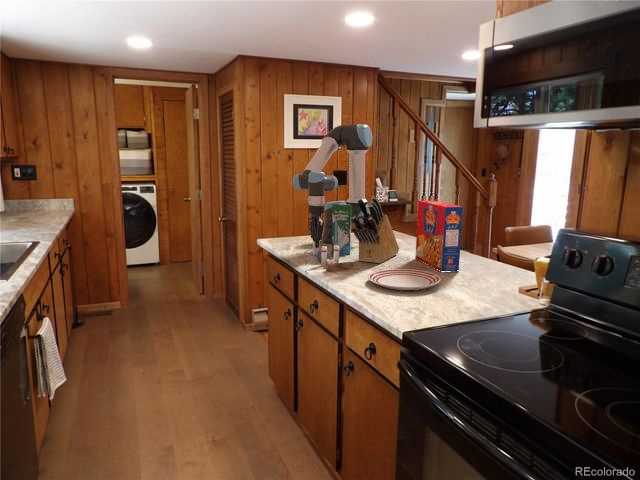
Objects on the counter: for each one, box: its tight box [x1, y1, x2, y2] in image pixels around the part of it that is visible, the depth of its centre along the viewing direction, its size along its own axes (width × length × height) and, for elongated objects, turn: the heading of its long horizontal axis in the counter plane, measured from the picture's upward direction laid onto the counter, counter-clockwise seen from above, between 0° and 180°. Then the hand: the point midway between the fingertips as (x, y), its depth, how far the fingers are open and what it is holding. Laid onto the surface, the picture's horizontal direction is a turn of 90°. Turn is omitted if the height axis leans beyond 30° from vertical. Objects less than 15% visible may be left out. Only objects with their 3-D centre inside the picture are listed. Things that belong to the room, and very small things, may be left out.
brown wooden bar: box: [325, 261, 355, 273], centre depth 201 cm, size 12×2×3 cm, turn 114°
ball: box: [316, 248, 331, 262], centre depth 216 cm, size 6×6×6 cm
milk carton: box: [331, 203, 352, 256], centre depth 236 cm, size 9×9×25 cm
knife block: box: [351, 195, 400, 264], centre depth 220 cm, size 11×35×31 cm, turn 151°
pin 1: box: [320, 245, 328, 267], centre depth 208 cm, size 2×2×8 cm
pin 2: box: [333, 246, 340, 263], centre depth 211 cm, size 2×2×8 cm
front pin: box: [327, 258, 335, 264], centre depth 208 cm, size 2×2×8 cm
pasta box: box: [415, 200, 464, 271], centre depth 210 cm, size 28×8×28 cm, turn 11°
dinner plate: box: [367, 268, 442, 291], centre depth 180 cm, size 28×27×3 cm
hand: (316, 254), depth 224 cm, fingers closed
